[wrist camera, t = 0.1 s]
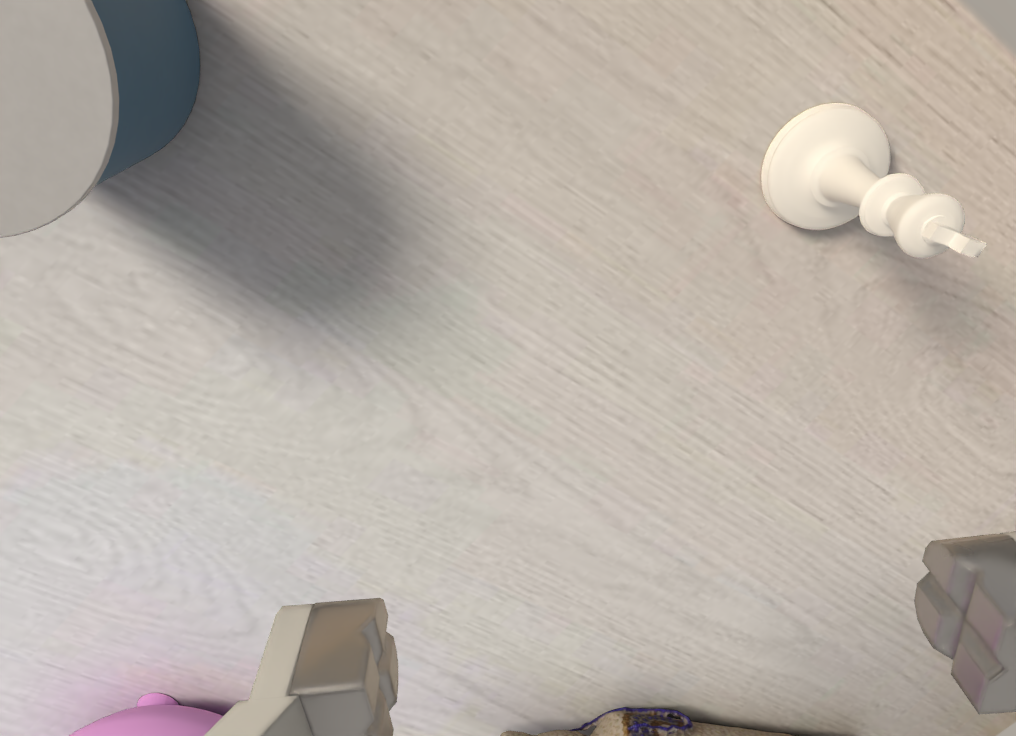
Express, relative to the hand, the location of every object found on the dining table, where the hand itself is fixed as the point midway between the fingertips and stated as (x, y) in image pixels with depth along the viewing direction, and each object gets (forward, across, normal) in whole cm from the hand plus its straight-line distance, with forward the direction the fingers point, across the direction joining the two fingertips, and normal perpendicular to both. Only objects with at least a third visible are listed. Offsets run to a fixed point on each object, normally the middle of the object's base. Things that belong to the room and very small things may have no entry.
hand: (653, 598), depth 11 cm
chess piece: (+21, -11, 0) cm, 24 cm away
